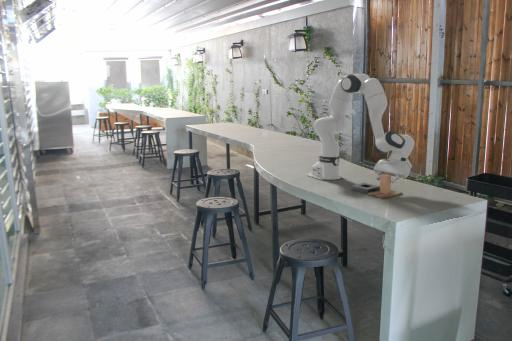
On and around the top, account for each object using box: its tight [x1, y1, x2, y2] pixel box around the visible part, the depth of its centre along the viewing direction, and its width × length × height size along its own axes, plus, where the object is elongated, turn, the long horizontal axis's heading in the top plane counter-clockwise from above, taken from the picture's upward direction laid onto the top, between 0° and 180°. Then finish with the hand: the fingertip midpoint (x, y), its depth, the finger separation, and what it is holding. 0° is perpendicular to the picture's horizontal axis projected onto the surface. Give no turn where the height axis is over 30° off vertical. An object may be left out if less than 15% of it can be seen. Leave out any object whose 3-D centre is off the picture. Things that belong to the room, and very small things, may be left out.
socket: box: [350, 182, 380, 195], centre depth 261 cm, size 11×11×2 cm
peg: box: [379, 174, 392, 194], centre depth 251 cm, size 4×4×10 cm
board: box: [367, 189, 403, 200], centre depth 252 cm, size 11×16×1 cm
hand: (385, 180), depth 250 cm, fingers open, 8 cm apart
